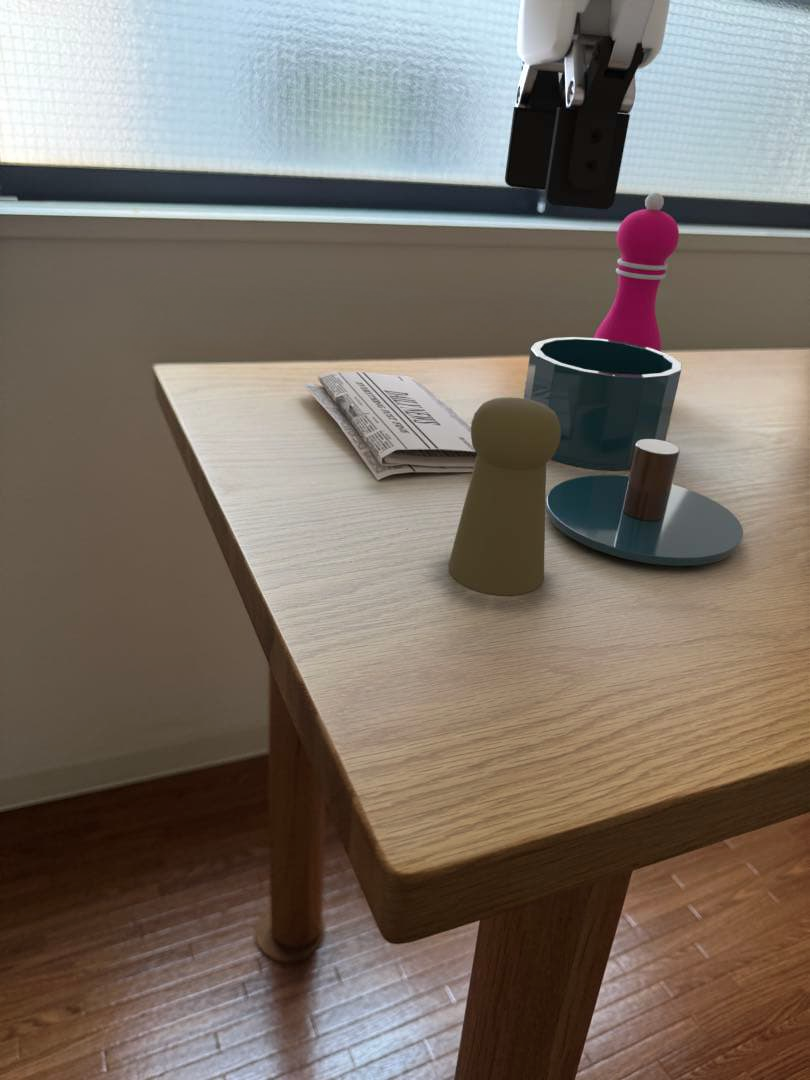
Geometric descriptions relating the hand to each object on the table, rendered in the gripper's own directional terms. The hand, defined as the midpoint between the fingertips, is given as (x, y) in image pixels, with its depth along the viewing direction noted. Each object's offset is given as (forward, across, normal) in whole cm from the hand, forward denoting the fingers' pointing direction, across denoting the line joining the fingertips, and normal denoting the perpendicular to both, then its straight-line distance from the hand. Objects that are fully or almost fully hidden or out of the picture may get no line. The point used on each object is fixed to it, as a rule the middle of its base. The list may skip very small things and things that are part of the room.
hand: (552, 196), depth 44 cm
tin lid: (+21, +7, -12) cm, 25 cm away
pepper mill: (+22, +41, -21) cm, 51 cm away
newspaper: (+22, +26, +5) cm, 34 cm away
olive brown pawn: (+22, 0, 0) cm, 22 cm away
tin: (+22, +24, -13) cm, 35 cm away
